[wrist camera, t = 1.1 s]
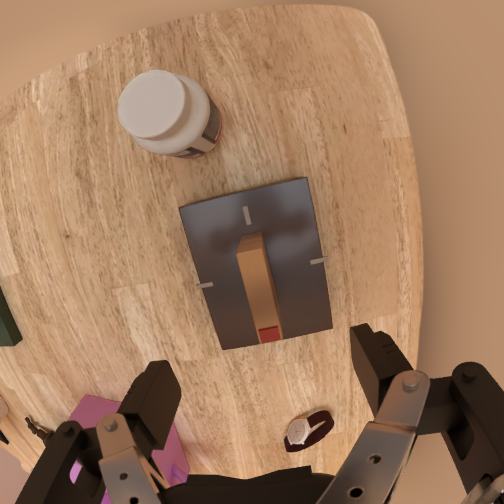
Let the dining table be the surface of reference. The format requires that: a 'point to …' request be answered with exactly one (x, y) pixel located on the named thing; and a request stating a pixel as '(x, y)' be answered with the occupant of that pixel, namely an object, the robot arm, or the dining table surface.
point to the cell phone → (3, 438)
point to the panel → (278, 251)
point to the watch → (307, 431)
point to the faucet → (39, 432)
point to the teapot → (167, 459)
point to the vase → (3, 409)
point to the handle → (259, 287)
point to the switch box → (7, 325)
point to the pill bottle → (170, 114)
